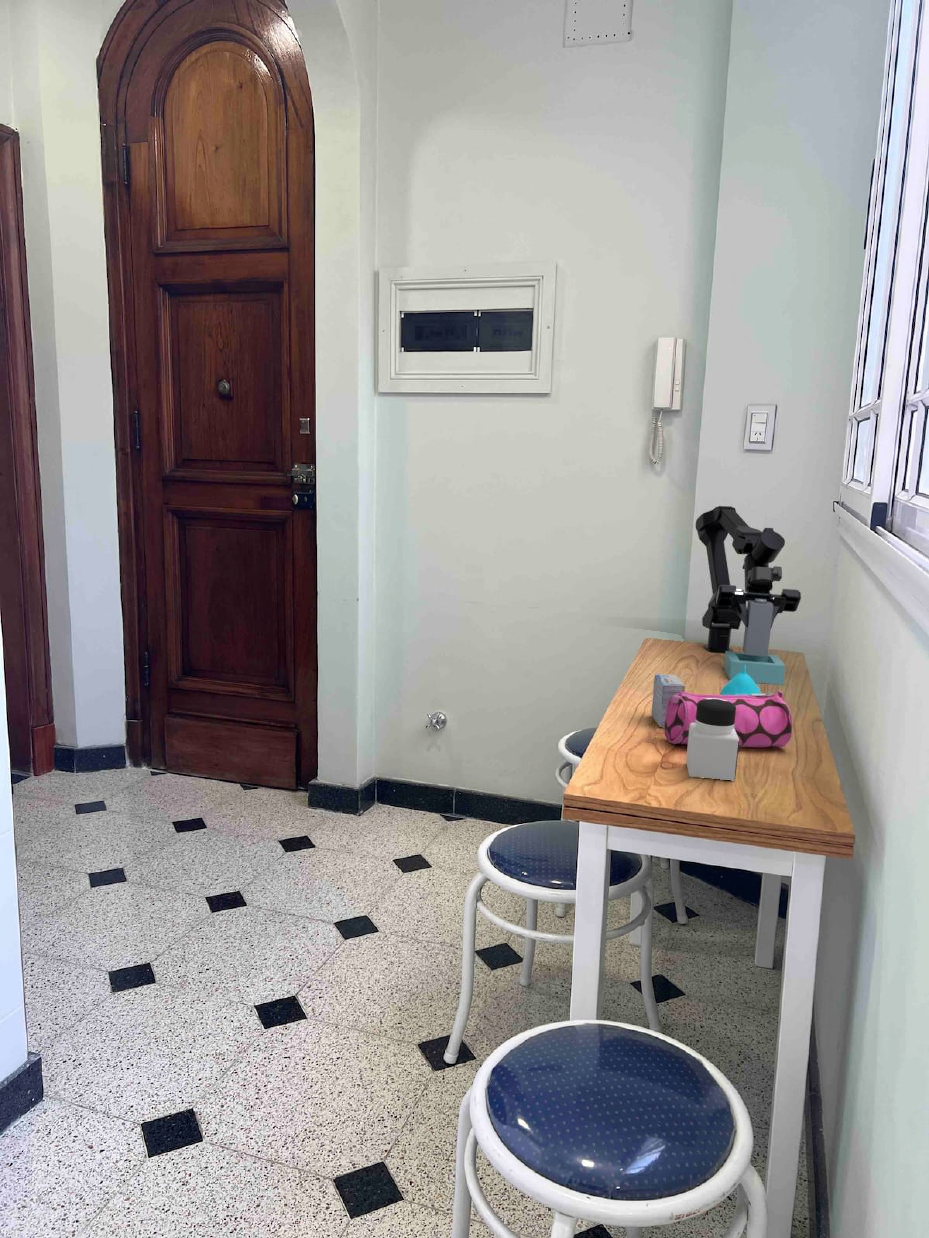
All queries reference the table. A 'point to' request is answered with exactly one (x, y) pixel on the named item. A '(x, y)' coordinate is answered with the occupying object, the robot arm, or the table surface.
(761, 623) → the grey knobbed block
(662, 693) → the medicine box
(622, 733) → the table surface
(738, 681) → the toy shark
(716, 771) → the medicine bottle
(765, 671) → the teal base brick
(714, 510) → the robot arm
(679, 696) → the pencil case
